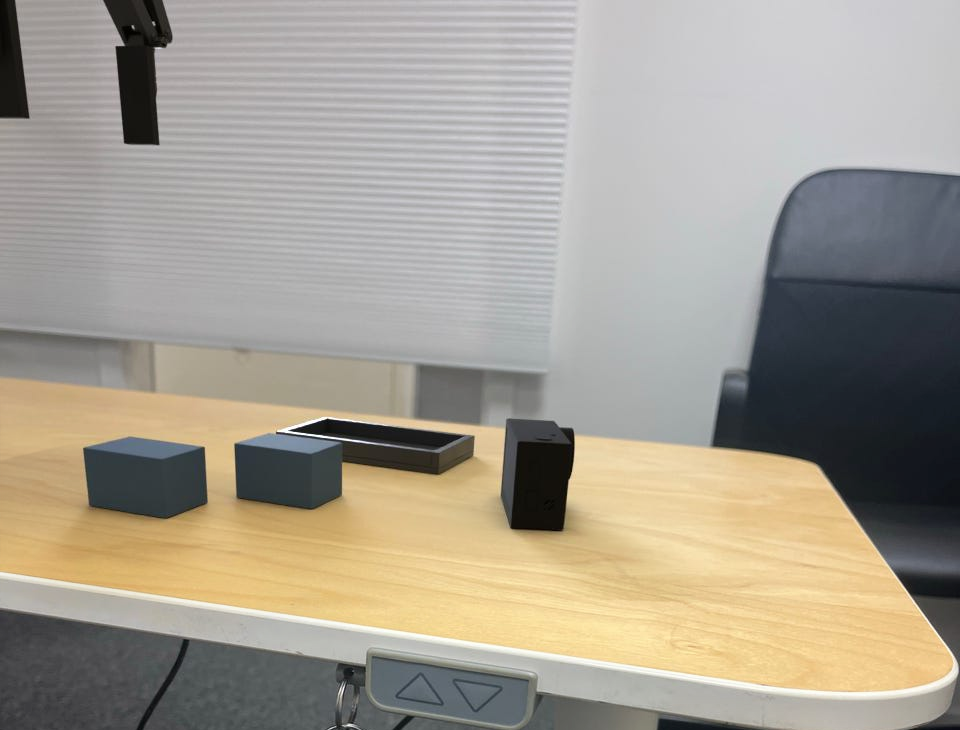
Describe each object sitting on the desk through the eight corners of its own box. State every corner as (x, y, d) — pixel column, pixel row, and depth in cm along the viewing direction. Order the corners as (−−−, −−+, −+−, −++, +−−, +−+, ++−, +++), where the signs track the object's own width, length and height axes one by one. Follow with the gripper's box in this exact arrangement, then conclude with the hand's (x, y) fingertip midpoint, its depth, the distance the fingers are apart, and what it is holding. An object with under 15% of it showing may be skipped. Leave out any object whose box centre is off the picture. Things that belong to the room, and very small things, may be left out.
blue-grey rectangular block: (236, 497, 76) (233, 443, 74) (270, 484, 81) (268, 432, 79) (312, 509, 74) (311, 453, 72) (342, 495, 79) (342, 442, 77)
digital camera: (578, 532, 73) (588, 443, 70) (510, 529, 72) (517, 440, 70) (560, 499, 82) (568, 420, 80) (500, 496, 82) (506, 416, 79)
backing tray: (275, 452, 93) (275, 431, 92) (324, 435, 102) (324, 416, 102) (438, 474, 88) (439, 452, 88) (473, 455, 98) (474, 435, 97)
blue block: (88, 505, 71) (82, 447, 69) (134, 491, 76) (129, 436, 74) (166, 518, 69) (161, 459, 67) (208, 502, 74) (205, 446, 72)
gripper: (-82, -390, 45) (-14, 103, 53) (207, -172, 67) (224, 154, 76) (-196, -369, 47) (-114, 102, 56) (121, -164, 69) (146, 152, 78)
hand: (81, 133), depth 66 cm, fingers open, 13 cm apart
